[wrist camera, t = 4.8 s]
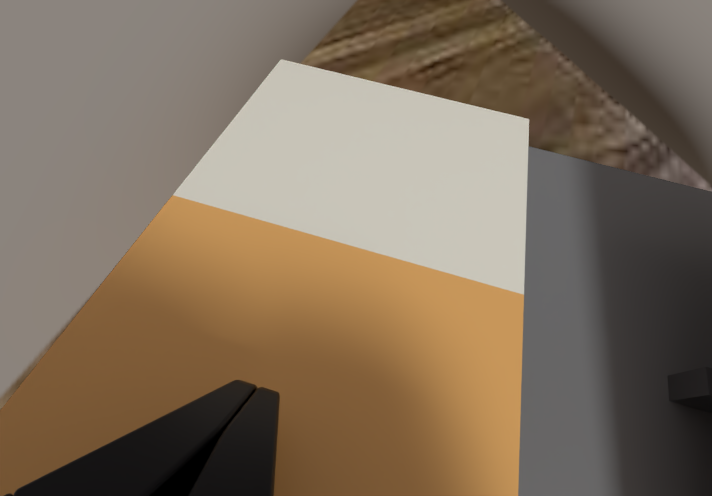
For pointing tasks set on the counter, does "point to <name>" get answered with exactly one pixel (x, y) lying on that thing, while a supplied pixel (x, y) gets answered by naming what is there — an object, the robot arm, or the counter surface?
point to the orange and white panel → (316, 297)
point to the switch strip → (615, 333)
